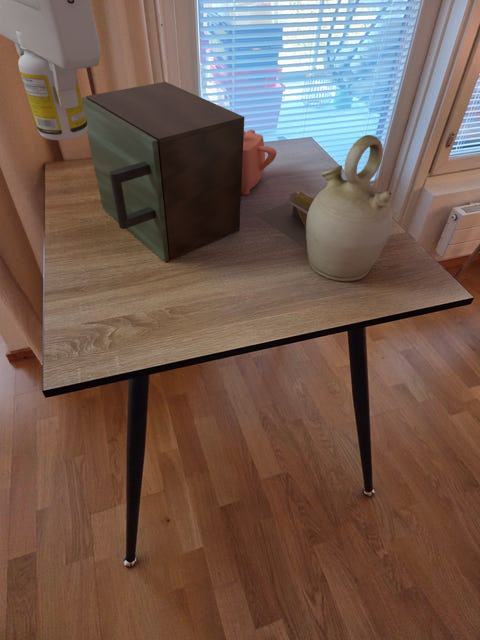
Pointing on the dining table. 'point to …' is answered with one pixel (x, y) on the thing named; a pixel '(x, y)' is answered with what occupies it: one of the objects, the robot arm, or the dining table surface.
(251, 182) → the teapot
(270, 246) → the dining table surface
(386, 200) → the jug
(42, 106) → the supplement bottle
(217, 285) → the dining table surface
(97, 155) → the cupboard door
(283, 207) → the platform
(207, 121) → the cupboard
